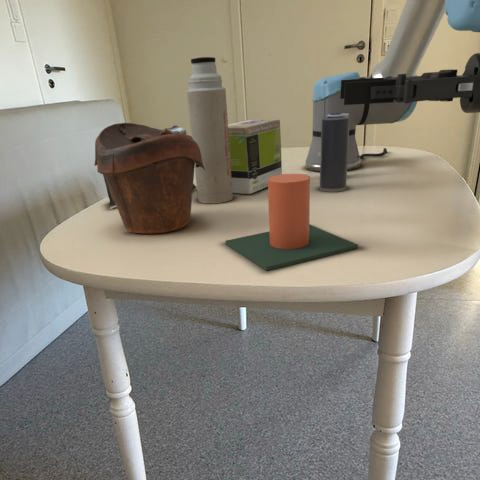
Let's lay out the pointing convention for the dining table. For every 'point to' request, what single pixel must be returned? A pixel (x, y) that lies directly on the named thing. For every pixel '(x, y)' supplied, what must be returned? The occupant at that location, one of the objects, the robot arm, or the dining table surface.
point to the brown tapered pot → (148, 175)
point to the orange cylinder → (289, 210)
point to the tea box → (254, 154)
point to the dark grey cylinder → (334, 154)
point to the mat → (273, 258)
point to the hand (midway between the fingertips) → (342, 91)
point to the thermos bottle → (210, 131)
